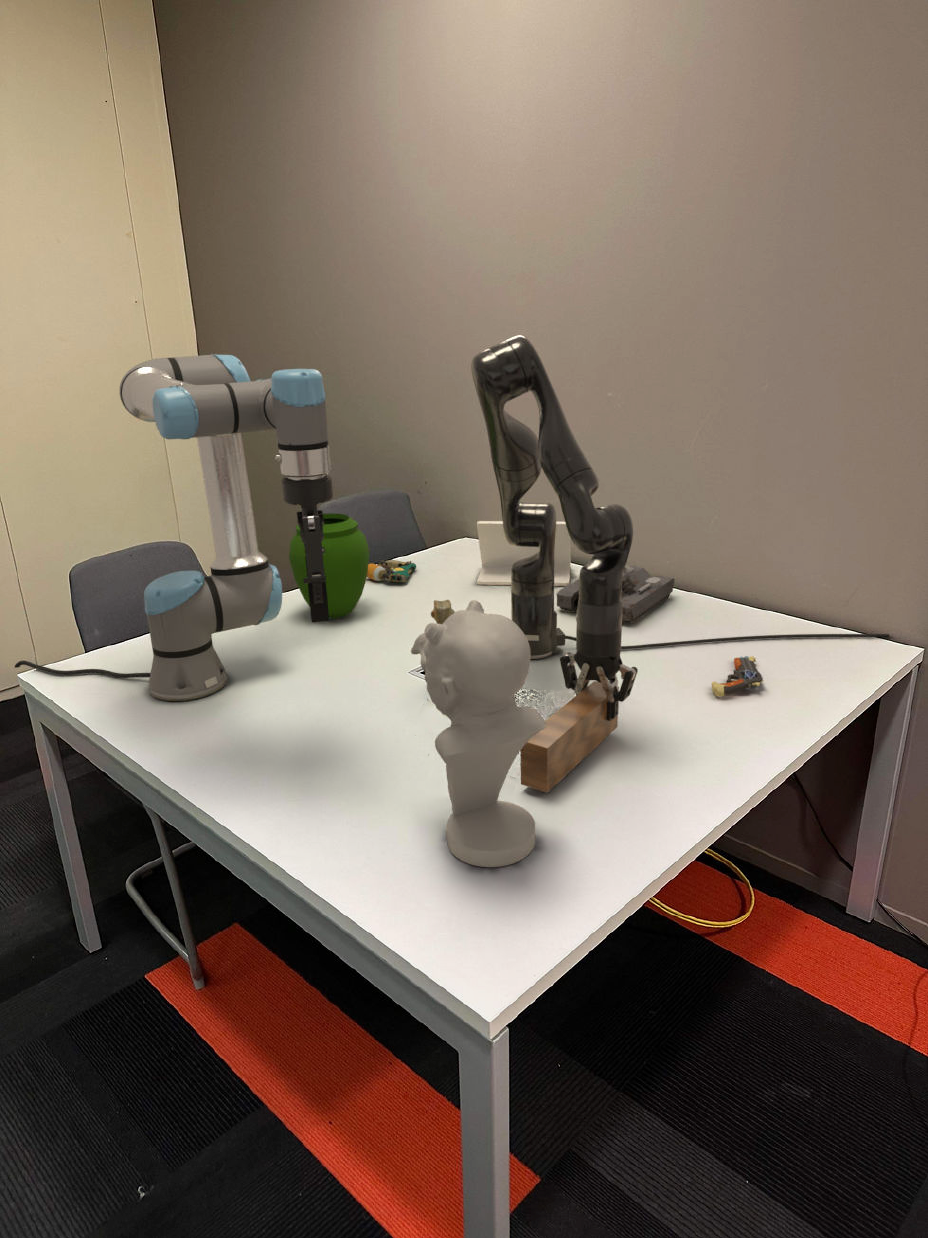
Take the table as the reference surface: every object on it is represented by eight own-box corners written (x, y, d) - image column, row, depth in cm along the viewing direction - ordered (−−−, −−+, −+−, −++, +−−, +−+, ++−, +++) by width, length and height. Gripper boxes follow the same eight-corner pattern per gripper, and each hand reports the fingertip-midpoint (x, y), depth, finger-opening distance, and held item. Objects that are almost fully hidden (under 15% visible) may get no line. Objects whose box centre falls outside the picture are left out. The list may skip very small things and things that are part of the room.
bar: (593, 720, 154) (594, 680, 151) (617, 727, 151) (619, 686, 149) (520, 784, 135) (520, 740, 132) (547, 793, 132) (547, 748, 129)
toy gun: (713, 687, 162) (768, 684, 160) (705, 654, 180) (754, 651, 178) (714, 700, 163) (769, 697, 161) (706, 666, 181) (755, 664, 179)
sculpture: (458, 662, 183) (456, 596, 178) (460, 676, 176) (457, 608, 171) (431, 663, 183) (428, 597, 177) (431, 677, 176) (428, 609, 171)
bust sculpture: (481, 772, 140) (476, 569, 128) (565, 848, 120) (569, 617, 108) (392, 800, 134) (378, 588, 121) (465, 886, 114) (457, 642, 101)
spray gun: (385, 567, 252) (430, 574, 246) (355, 580, 238) (402, 588, 232) (385, 553, 251) (430, 559, 245) (355, 565, 236) (402, 573, 230)
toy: (603, 584, 229) (605, 530, 224) (673, 597, 218) (677, 540, 213) (555, 612, 210) (556, 553, 205) (630, 627, 199) (633, 566, 194)
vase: (389, 608, 216) (383, 514, 208) (339, 633, 201) (330, 533, 192) (330, 596, 226) (322, 506, 218) (278, 619, 211) (267, 523, 202)
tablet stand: (569, 585, 229) (570, 524, 223) (476, 584, 232) (475, 523, 226) (570, 566, 246) (571, 508, 240) (484, 564, 249) (483, 507, 243)
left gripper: (281, 462, 140) (293, 585, 148) (281, 493, 117) (296, 637, 125) (326, 459, 142) (337, 581, 149) (336, 490, 119) (347, 631, 126)
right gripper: (648, 625, 142) (643, 717, 148) (571, 610, 149) (570, 697, 156) (629, 640, 136) (625, 734, 142) (550, 623, 144) (549, 714, 150)
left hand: (318, 606), depth 137 cm, fingers open, 13 cm apart
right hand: (596, 715), depth 149 cm, fingers closed on bar, 4 cm apart
